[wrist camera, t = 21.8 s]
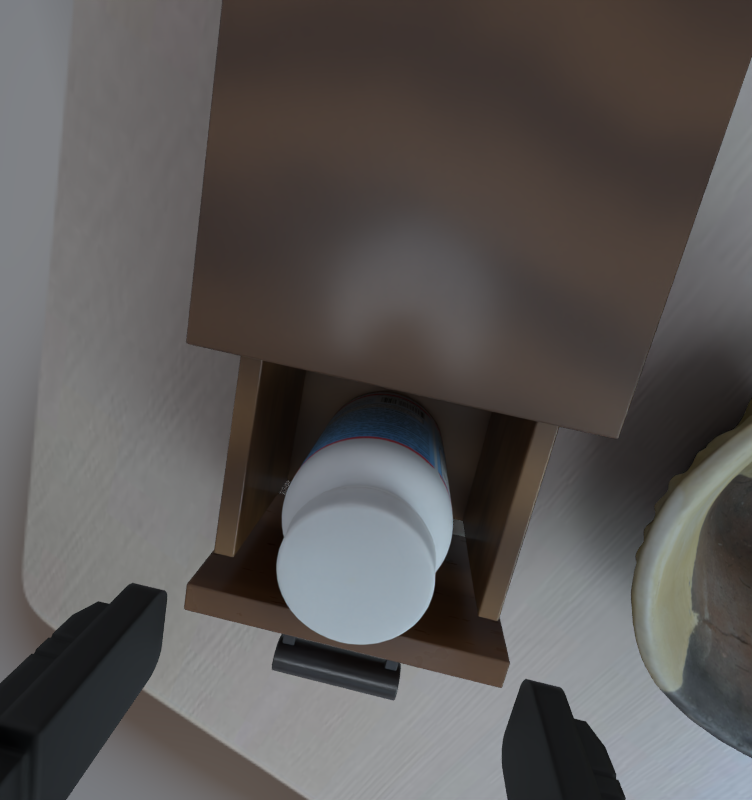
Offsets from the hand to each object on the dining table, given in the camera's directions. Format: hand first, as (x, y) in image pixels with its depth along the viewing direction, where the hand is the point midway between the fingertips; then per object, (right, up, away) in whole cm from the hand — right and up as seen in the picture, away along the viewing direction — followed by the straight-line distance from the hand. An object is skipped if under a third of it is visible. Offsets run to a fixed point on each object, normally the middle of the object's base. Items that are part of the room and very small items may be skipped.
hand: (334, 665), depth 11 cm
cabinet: (+4, +17, +13) cm, 21 cm away
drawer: (+1, +3, +15) cm, 16 cm away
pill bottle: (+1, +3, +14) cm, 15 cm away
